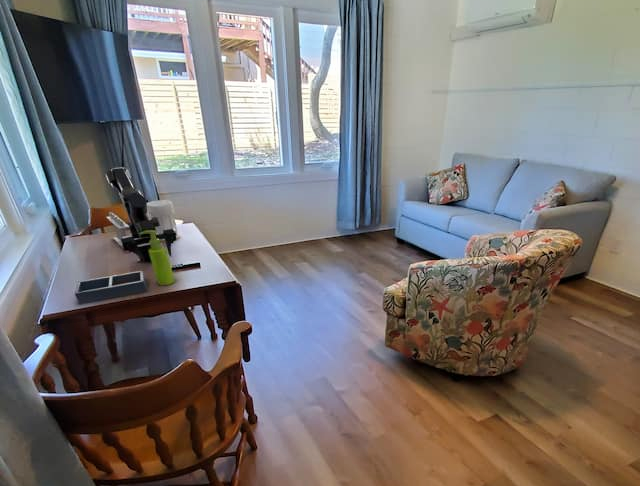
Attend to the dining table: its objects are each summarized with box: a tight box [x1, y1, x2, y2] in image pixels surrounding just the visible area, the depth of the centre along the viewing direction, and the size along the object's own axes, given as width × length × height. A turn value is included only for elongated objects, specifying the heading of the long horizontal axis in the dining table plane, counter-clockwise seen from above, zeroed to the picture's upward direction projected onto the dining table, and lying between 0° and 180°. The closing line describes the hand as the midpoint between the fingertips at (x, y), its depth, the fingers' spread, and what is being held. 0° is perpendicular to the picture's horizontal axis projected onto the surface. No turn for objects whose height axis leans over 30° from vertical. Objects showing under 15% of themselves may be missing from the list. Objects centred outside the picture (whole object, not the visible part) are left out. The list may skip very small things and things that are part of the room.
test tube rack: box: [105, 212, 130, 253], centre depth 187 cm, size 25×4×13 cm, turn 40°
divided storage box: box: [74, 270, 148, 305], centre depth 145 cm, size 11×22×4 cm, turn 116°
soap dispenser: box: [140, 230, 176, 286], centre depth 147 cm, size 6×7×20 cm
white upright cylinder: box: [147, 199, 180, 243], centre depth 192 cm, size 11×11×17 cm
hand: (158, 258), depth 148 cm, fingers open, 9 cm apart
